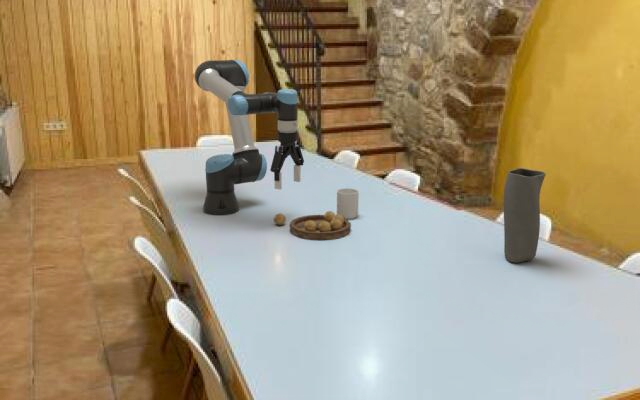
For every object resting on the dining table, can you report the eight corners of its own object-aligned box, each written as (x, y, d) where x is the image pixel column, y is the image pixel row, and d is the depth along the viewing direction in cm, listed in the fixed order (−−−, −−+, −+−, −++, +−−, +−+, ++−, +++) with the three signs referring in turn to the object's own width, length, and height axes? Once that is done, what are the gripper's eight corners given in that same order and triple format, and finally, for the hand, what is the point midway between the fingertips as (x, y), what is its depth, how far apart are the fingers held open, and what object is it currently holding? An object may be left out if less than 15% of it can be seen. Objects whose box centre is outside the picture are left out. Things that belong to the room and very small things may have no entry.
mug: (360, 219, 239) (361, 193, 236) (340, 220, 237) (340, 194, 234) (351, 211, 251) (352, 186, 248) (332, 212, 248) (332, 187, 245)
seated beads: (301, 232, 219) (301, 221, 217) (327, 220, 234) (327, 209, 233) (328, 238, 213) (328, 226, 211) (353, 225, 228) (353, 213, 227)
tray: (278, 233, 222) (278, 226, 221) (311, 218, 241) (311, 211, 240) (330, 244, 210) (330, 237, 209) (360, 227, 229) (360, 220, 228)
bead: (271, 225, 231) (271, 214, 230) (278, 222, 235) (278, 211, 233) (281, 227, 229) (281, 216, 227) (288, 224, 232) (287, 213, 231)
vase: (517, 268, 189) (527, 178, 181) (490, 256, 199) (498, 170, 191) (544, 262, 194) (555, 174, 186) (517, 250, 205) (525, 166, 197)
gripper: (277, 136, 210) (278, 193, 216) (312, 127, 231) (312, 179, 237) (260, 134, 214) (261, 190, 220) (296, 126, 235) (296, 177, 241)
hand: (287, 185), depth 228 cm, fingers open, 13 cm apart
